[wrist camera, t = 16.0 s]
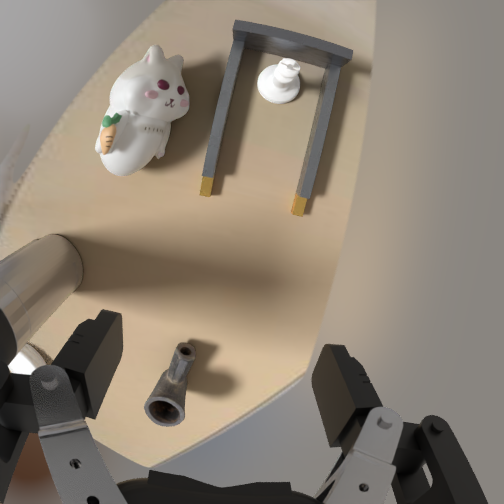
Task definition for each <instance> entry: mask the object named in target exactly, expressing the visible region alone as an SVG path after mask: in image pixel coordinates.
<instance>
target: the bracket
mask: <svg viewBox="0 0 504 504" xmlns="http://www.w3.org/2000/svg"><path fill="white" fill-rule="evenodd" d="M233 39H234V41H233V44H232V48H231V52H230V55H229V59H228V63H227V67H226V71H225V75H224V79H223V83H222V87H221V91H220V95H219V99H218V103H217V108H216V112H215V116H214V121H213V125H212V130H211V134H210V139H209V144H208V148H207V153H206V158H205V163H204V168H203V173H202V176H203V179H202V184H201V190H200V195H201V196H206V197H210V196H211V192H212V186H213V181H214V176H215V172H216V167H217V162H218V157H219V152H220V148H221V143H222V139H223V134H224V129H225V125H226V121H227V116H228V112H229V108H230V103H231V99H232V95H233V91H234V87H235V83H236V79H237V75H238V71H239V67H240V63H241V59H242V55H243V51H244V49H250V50H255V51H260V52H264V53H269V54H273V55H278V56H282V57H286V58H290V59H294V60H298V61H301V62H305V63H308V64H312V65H315V66H319V67H322V68H325V73H324V77H323V82H322V86H321V91H320V95H319V99H318V104H317V108H316V113H315V117H314V121H313V125H312V130H311V134H310V138H309V142H308V146H307V151H306V155H305V159H304V163H303V167H302V171H301V175H300V179H299V183H298V187H297V191H296V195H295V199H294V203H293V207H292V211H291V213H292V214H293V215H297V216H301V217H302V216H303V212H304V209H305V205H306V201H307V199H310V196H311V192H312V188H313V184H314V180H315V177H316V173H317V169H318V165H319V161H320V157H321V153H322V148H323V144H324V140H325V136H326V132H327V128H328V123H329V119H330V115H331V110H332V106H333V101H334V97H335V92H336V88H337V83H338V78H339V74H340V69H341V67H342V66H343V65H345V64H346V63H348V62H349V61H351V59H352V54H353V50H351V49H348V48H345V47H342V46H340V45H337V44H334V43H331V42H327V41H324V40H321V39H318V38H314V37H311V36H308V35H304V34H300V33H297V32H293V31H289V30H285V29H280V28H276V27H272V26H267V25H262V24H257V23H252V22H246V21H240V20H235V23H234V26H233Z"/></svg>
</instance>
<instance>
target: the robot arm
mask: <svg viewBox="0 0 504 504" xmlns="http://www.w3.org/2000/svg"><path fill="white" fill-rule="evenodd" d="M82 277H83V266H82V262H81V258H80V256H79V254H78V252H77V250H76V249H75V247H74V246H73V245H72V244H71V243H70V242H69V241H68V240H67V239H65V238H64V237H62V236H60V235H55V234H52V235H47V236H45V237H43V238H41V239H40V240H37V239H35V240H33V241H32V242H30V243H28V244H27V245H25V246H23V247H22V248H20V249H18V250H17V251H15V252H14V253H12V254H11V255H9V256H7V257H6V258H4V259H3V260H1V261H0V504H3V503H4V499H5V496H6V493H7V490H8V487H9V484H10V481H11V478H12V475H13V472H14V470H15V467H16V464H17V462H18V459H19V456H20V454H21V452H22V449H23V446H24V444H25V442H26V439H27V437H28V435H29V432H30V433H38V434H39V438H40V442H41V445H42V448H43V452H44V455H45V458H46V461H47V464H48V467H49V470H50V472H51V475H52V478H53V480H54V483H55V486H56V488H57V490H58V493H59V495H60V498H61V500H62V502H63V504H383V503H384V501H385V498H386V496H387V493H388V491H389V488H390V485H392V488H393V492H394V495H395V498H396V501H397V504H488V502H487V500H486V498H485V496H484V493H483V491H482V489H481V487H480V485H479V483H478V480H477V478H476V476H475V474H474V472H473V470H472V468H471V466H470V464H469V462H468V460H467V458H466V456H465V454H464V452H463V451H462V449H461V447H460V445H459V443H458V441H457V439H456V437H455V435H454V433H453V432H452V430H451V428H450V426H449V425H448V423H447V422H446V421H445V420H443V419H442V418H440V417H438V416H434V415H430V416H426V417H425V418H424V419H423V420H422V421H421V423H420V424H414V423H408V422H403V421H402V419H401V417H400V416H399V414H398V413H396V412H395V411H394V410H392V409H390V408H386V407H383V405H382V403H381V401H380V399H379V397H378V395H377V393H376V391H375V389H374V387H373V385H372V383H370V380H369V377H368V376H367V374H366V372H365V370H364V368H363V366H362V365H361V364H360V363H359V362H358V361H357V360H356V359H355V358H354V357H350V355H349V353H348V351H347V349H346V347H345V346H344V345H333V344H325V345H324V347H323V349H322V351H321V354H320V356H319V359H318V361H317V364H316V366H315V369H314V371H313V374H312V388H313V391H314V394H315V397H316V401H317V404H318V408H319V411H320V415H321V418H322V421H323V425H324V428H325V432H326V435H327V439H328V442H329V446H330V447H341V449H342V452H341V454H340V455H339V457H338V458H337V460H336V462H335V464H334V465H333V467H332V469H331V470H330V472H329V474H328V476H327V477H326V479H325V480H324V482H323V484H322V485H321V487H320V488H319V490H318V491H317V492H316V494H315V495H314V496H313V497H311V496H308V495H306V494H303V493H300V492H296V491H292V490H291V485H290V482H256V483H250V484H245V485H239V486H232V487H224V488H221V487H216V486H213V485H210V484H206V483H203V482H200V481H197V480H194V479H191V478H188V477H186V476H181V475H174V474H169V473H163V472H158V471H153V470H149V477H148V478H137V479H131V480H126V481H123V482H120V483H117V484H116V483H115V481H114V479H113V478H112V476H111V474H110V472H109V470H108V468H107V466H106V464H105V462H104V461H103V459H102V457H101V454H100V452H99V451H98V448H97V446H96V444H95V442H94V439H93V437H92V435H91V433H90V430H89V428H88V426H87V423H86V421H84V420H85V417H89V418H92V419H96V416H97V414H98V411H99V409H100V406H101V404H102V402H103V399H104V397H105V394H106V392H107V390H108V387H109V385H110V383H111V380H112V378H113V376H114V373H115V371H116V369H117V366H118V364H119V362H120V360H121V357H122V352H123V330H122V315H121V313H117V312H113V311H109V310H104V309H103V310H101V312H100V313H99V315H98V316H97V317H96V319H95V320H92V319H87V320H86V321H84V322H82V323H81V324H79V325H78V327H77V328H76V329H75V331H74V332H73V335H71V336H70V338H69V339H68V341H67V342H66V343H65V345H64V346H63V348H62V349H61V351H60V352H59V353H58V355H57V356H56V358H55V359H54V361H53V362H52V364H51V365H44V366H40V367H38V368H36V369H35V370H34V371H33V372H32V373H31V375H27V374H17V373H10V370H9V368H8V365H9V364H10V363H11V362H12V360H13V359H14V358H15V357H16V356H17V354H18V353H19V352H20V351H21V349H22V348H23V347H24V346H25V345H26V344H27V342H28V341H29V340H30V339H31V338H32V336H33V335H34V334H35V333H36V332H37V331H38V329H39V328H40V327H41V326H42V325H43V324H44V323H45V322H46V321H47V319H48V318H49V317H50V316H51V315H52V314H53V313H54V312H55V311H56V310H57V308H58V307H59V306H60V305H61V304H62V303H63V302H64V301H65V300H66V299H67V298H68V297H69V296H70V295H71V294H72V293H73V292H74V291H75V289H76V288H77V287H78V286H79V285H80V283H81V281H82ZM425 463H427V466H428V468H429V471H430V473H431V475H432V478H433V483H432V487H431V488H430V486H429V483H428V481H427V478H426V475H425V473H424V470H423V468H422V466H423V465H424V464H425Z"/></svg>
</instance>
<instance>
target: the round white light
mask: <svg viewBox="0 0 504 504" xmlns="http://www.w3.org/2000/svg"><path fill="white" fill-rule="evenodd" d="M44 365H47V364H46V362H45V360H44V359H43V357H42V356H41V355H40V354H39V353H38V352H37V351H36V350H35V349H34V348H33V347H32V346H30V345H29V344H26V345H25V346H24V347H23V348H22V349H21V351H20V352H19V353H18V354H17V356H16V357H15V358H14V359H13V360H12V362H11V363H10V364H9V365H8V367H9V369H10V370H11V371H12V373H17V374H27V375H31V373H32V372H33V371H34V370H35V369H36V368H38V367H40V366H44Z"/></svg>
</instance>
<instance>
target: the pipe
mask: <svg viewBox="0 0 504 504" xmlns="http://www.w3.org/2000/svg"><path fill="white" fill-rule="evenodd" d="M195 357H196V354H195V348H194V347H193V346H192V345H190V344H188V343H179V344H178V346H177V347H176V350H175V352H174V355H173V358H172V361H171V364H170V367H169V369H168V370H166V371H165V372H163V374H162V375H161V377H160V379H159V381H158V383H157V385H156V386H155V388H154V390H153V392H152V393H151V395H150V396H149V398H148V399H147V401H146V402H145V406H144V409H145V412H146V414H147V416H148V417H149V418H150V419H151V420H152V421H153V422H154V423H155V424H157V425H160V426H166V427H170V426H175V425H178V424H180V423H181V422H182V421H183V420H184V418H185V396H186V388H187V378H186V375H187V373H188V372H189V370H190V368H191V366H192V364H193V362H194V360H195Z"/></svg>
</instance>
